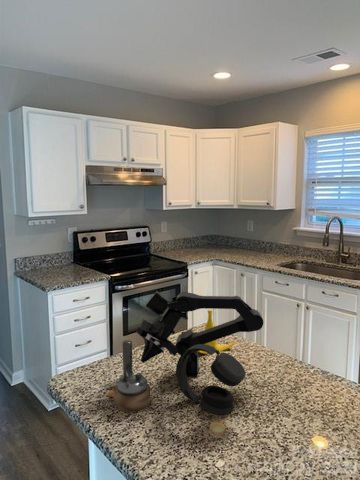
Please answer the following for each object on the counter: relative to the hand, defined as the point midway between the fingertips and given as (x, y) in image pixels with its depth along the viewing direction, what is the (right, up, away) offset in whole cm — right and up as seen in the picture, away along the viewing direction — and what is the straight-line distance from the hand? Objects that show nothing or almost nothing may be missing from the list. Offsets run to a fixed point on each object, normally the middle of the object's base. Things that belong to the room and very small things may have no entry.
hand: (141, 362), depth 123 cm
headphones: (+22, -9, -12) cm, 27 cm away
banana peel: (+24, -4, +32) cm, 41 cm away
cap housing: (-4, -9, -10) cm, 14 cm away
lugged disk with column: (-3, -8, -8) cm, 11 cm away
